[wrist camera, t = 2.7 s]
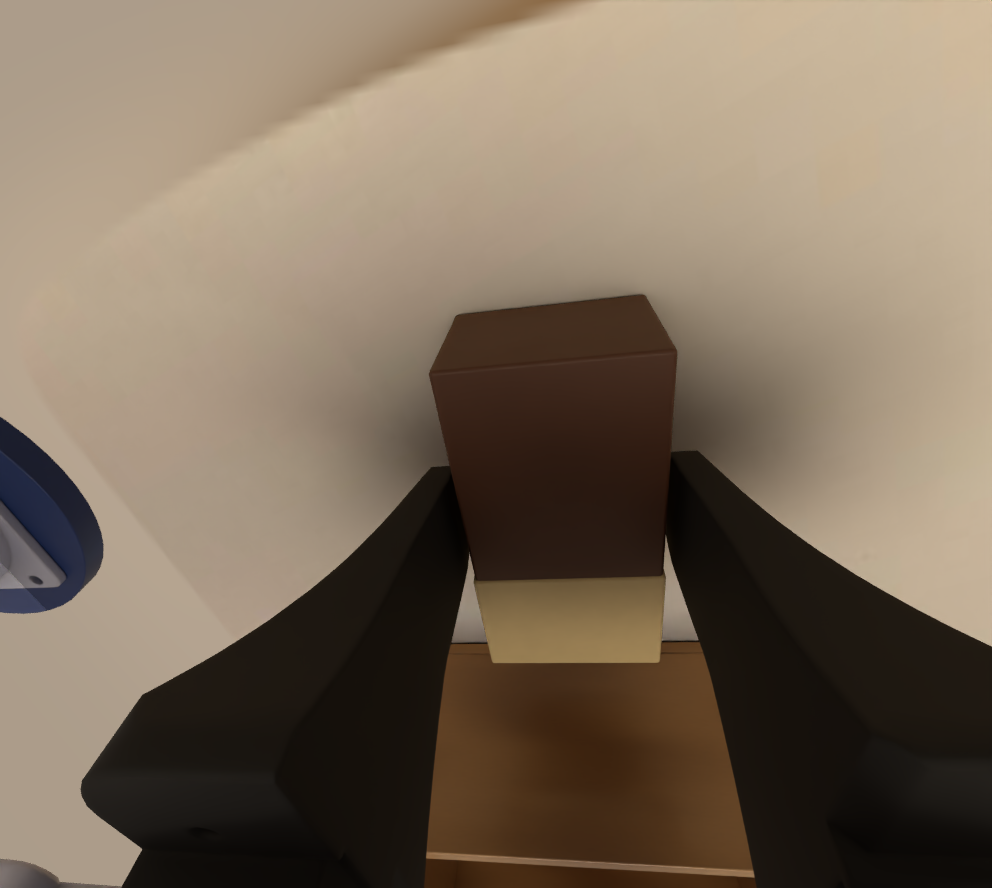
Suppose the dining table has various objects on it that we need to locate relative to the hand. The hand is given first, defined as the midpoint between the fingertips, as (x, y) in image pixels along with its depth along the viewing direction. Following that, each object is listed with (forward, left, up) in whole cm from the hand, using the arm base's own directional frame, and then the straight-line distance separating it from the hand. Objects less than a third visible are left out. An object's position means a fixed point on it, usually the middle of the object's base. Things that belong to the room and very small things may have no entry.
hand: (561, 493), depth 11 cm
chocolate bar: (0, 0, -1) cm, 1 cm away
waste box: (0, -13, -1) cm, 13 cm away
